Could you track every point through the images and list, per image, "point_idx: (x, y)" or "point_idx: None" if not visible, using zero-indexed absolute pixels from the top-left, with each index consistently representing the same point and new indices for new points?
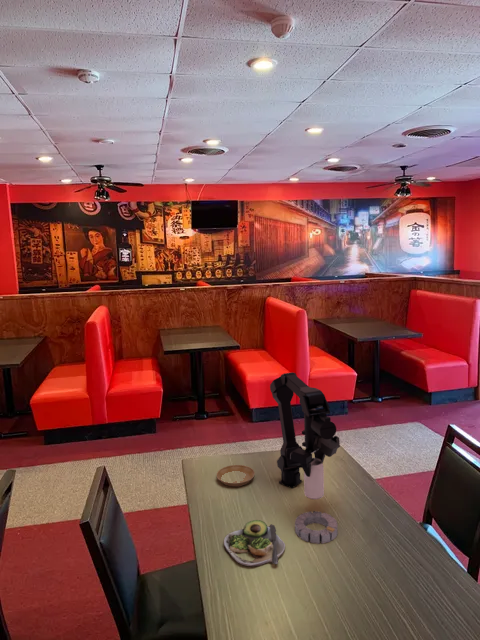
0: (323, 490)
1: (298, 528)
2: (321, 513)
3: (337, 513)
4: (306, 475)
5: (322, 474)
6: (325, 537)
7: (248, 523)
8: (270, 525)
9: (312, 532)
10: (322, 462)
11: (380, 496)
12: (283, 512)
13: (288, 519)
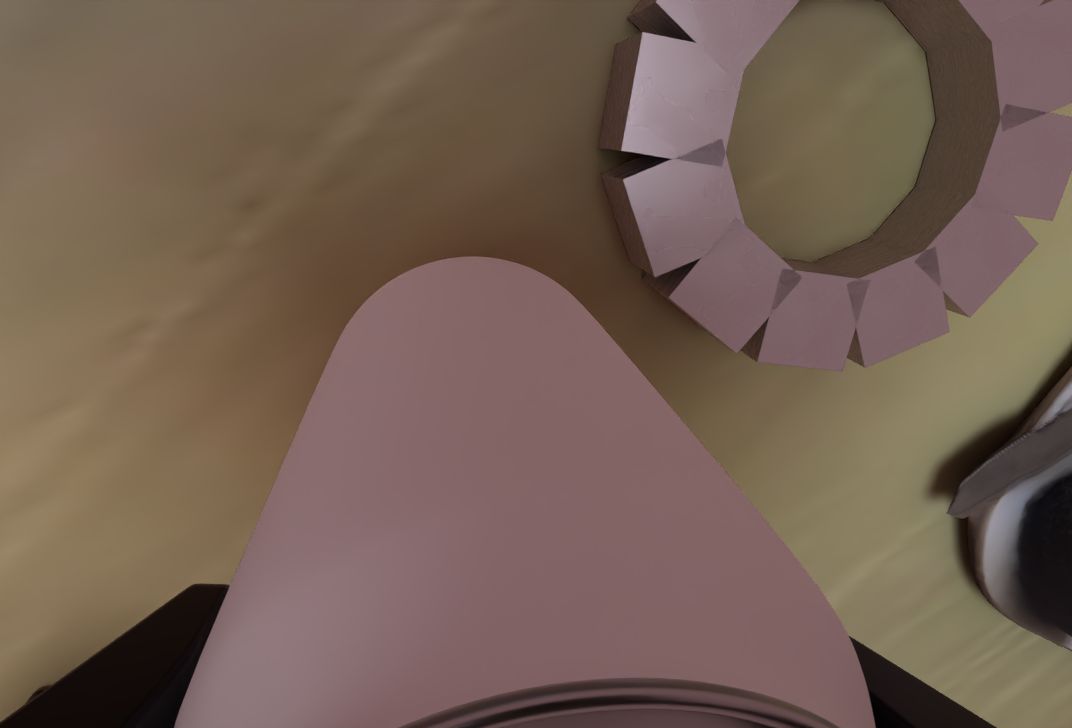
0: (444, 275)
1: (1015, 260)
2: (647, 168)
3: (396, 50)
4: None
5: (522, 386)
6: None
7: None
8: (975, 509)
9: (1041, 93)
10: (63, 719)
11: None
12: None
13: (751, 447)
